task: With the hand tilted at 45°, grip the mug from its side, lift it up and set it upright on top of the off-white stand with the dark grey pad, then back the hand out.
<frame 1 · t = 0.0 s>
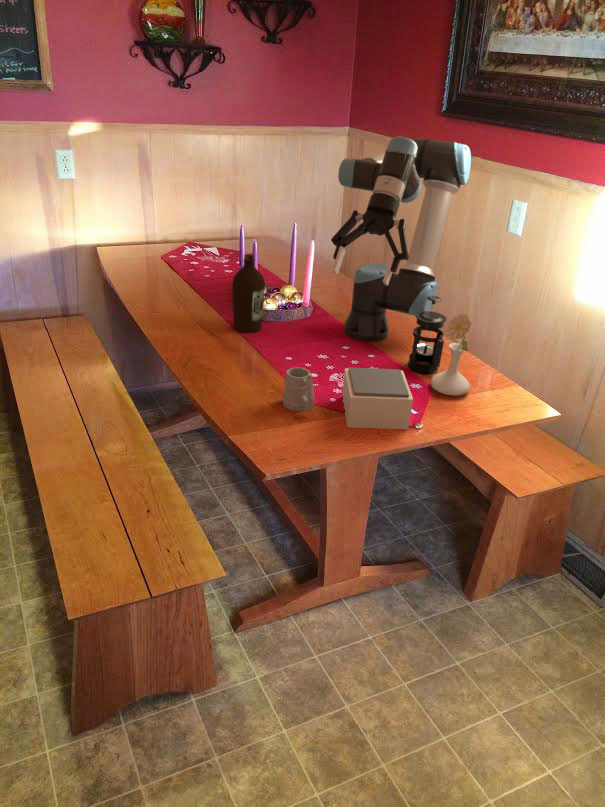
hand: (359, 278, 166), 36 cm above the table, tool tilted 35°, fingers open, 13 cm apart
french press: (423, 368, 206), on the table
stand: (373, 412, 180), on the table
olive oil: (247, 328, 224), on the table
flower in vase: (449, 391, 194), on the table
mug: (299, 408, 180), on the table
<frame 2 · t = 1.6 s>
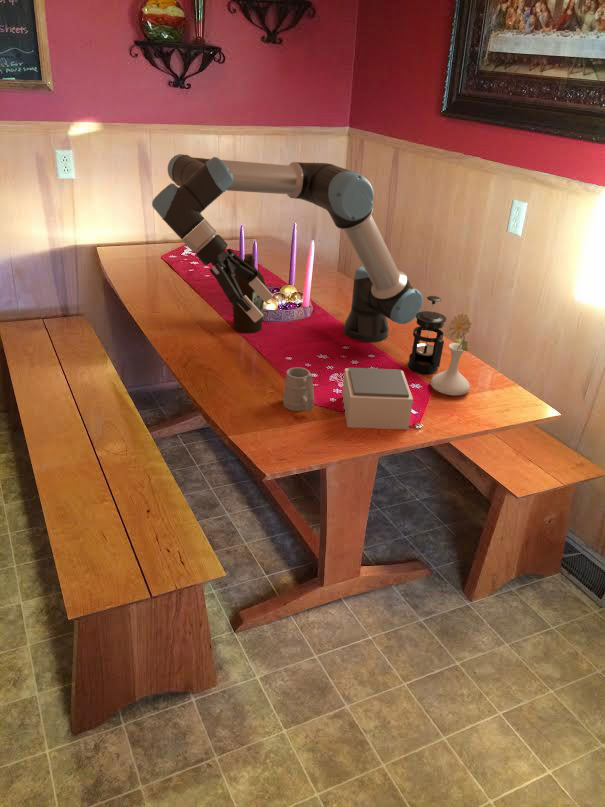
hand: (264, 308, 167), 27 cm above the table, tool tilted 45°, fingers open, 13 cm apart
nothing on the table moved.
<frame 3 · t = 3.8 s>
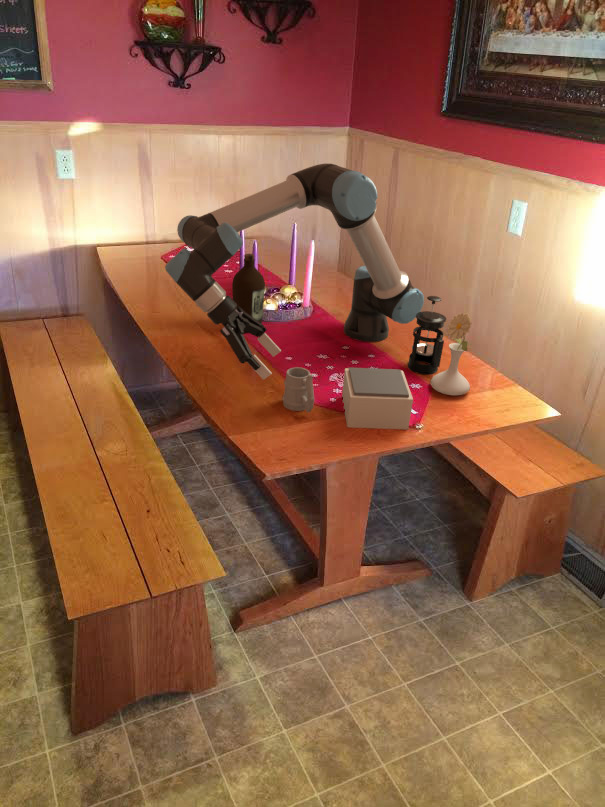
hand: (272, 364, 174), 12 cm above the table, tool tilted 45°, fingers open, 13 cm apart
nothing on the table moved.
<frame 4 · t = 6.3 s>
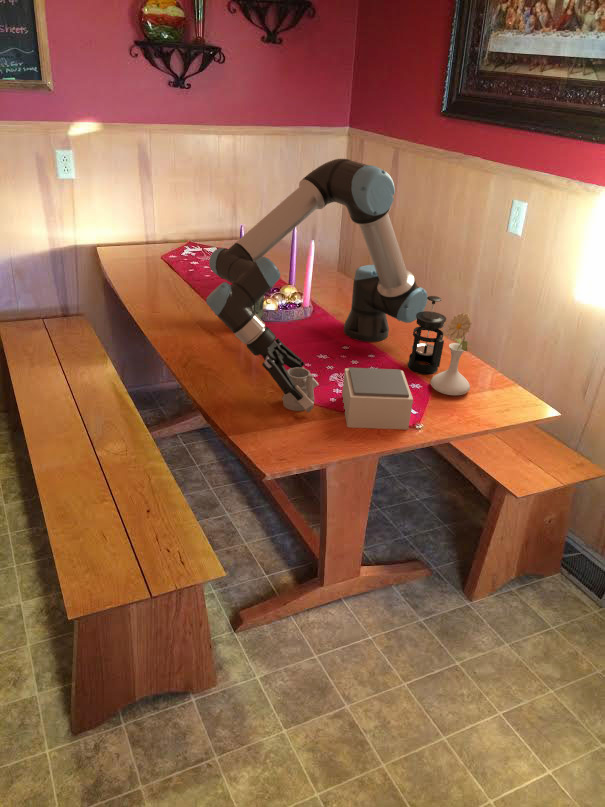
hand: (312, 396, 178), 4 cm above the table, tool tilted 45°, fingers closed on mug, 10 cm apart
mug: (299, 408, 180), on the table, touching gripper
everything else where it was.
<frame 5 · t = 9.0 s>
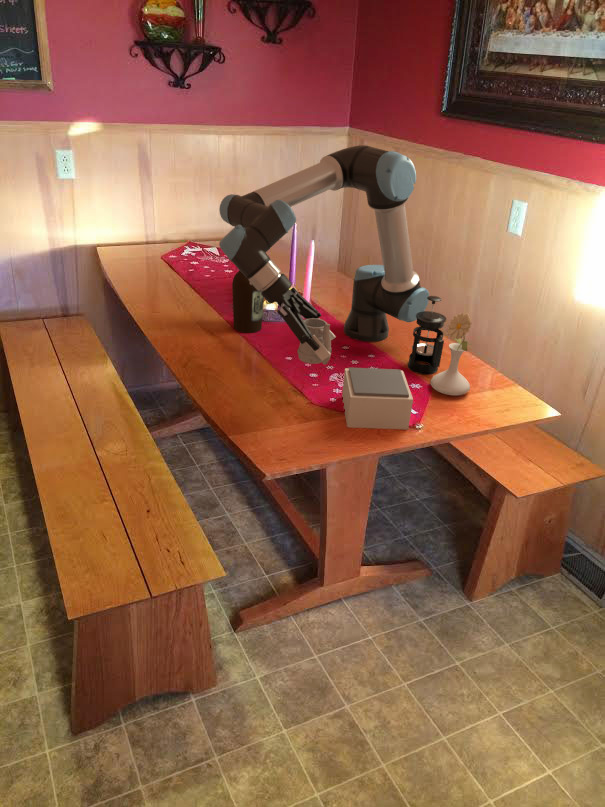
hand: (329, 348, 170), 19 cm above the table, tool tilted 45°, fingers closed on mug, 10 cm apart
mug: (315, 361, 172), point 15 cm above the table, touching gripper
everything else where it was.
when the fingers open (15 cm above the table, at t = 11.5 s): mug drops 1 cm, resting on stand.
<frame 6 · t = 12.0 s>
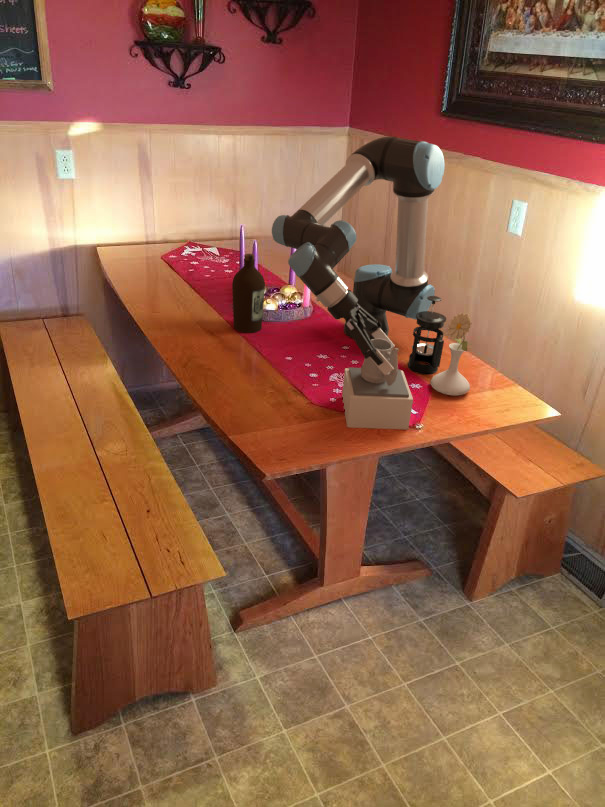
hand: (390, 360, 172), 16 cm above the table, tool tilted 45°, fingers open, 13 cm apart
mug: (378, 380, 175), point 10 cm above the table, touching stand
everything else where it was.
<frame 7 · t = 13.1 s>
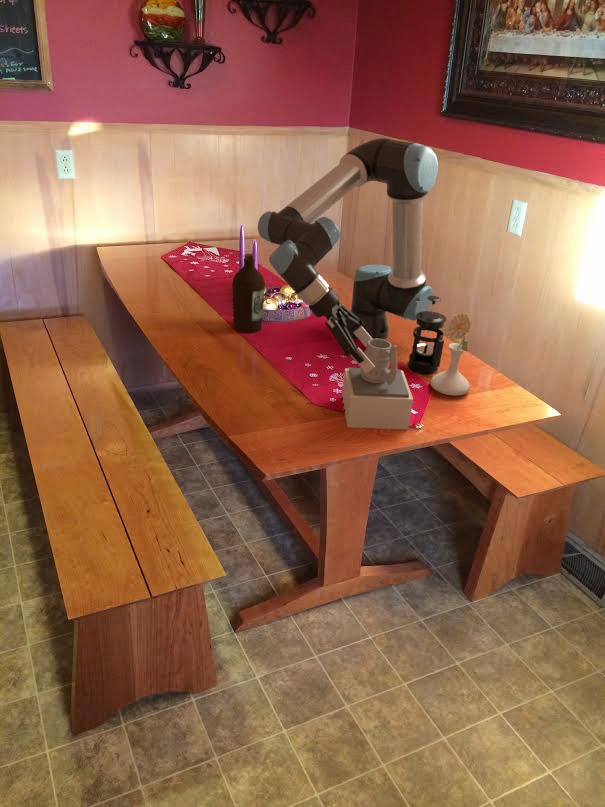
hand: (371, 358, 172), 16 cm above the table, tool tilted 45°, fingers open, 13 cm apart
nothing on the table moved.
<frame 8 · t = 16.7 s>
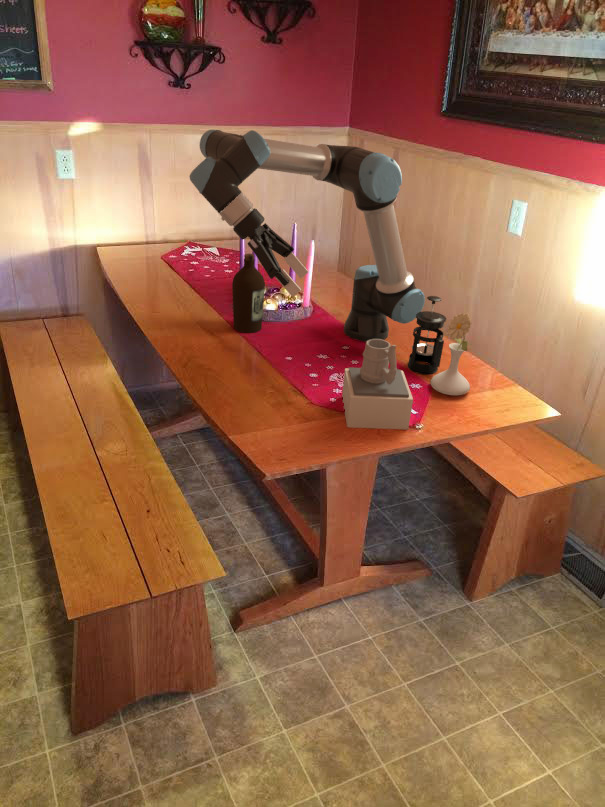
hand: (301, 284, 166), 34 cm above the table, tool tilted 45°, fingers open, 13 cm apart
nothing on the table moved.
at the end: mug inside the target area on the stand (0.1 cm from its centre), point 9.6 cm above the stand's base; mug tilted 0°; the gripper is holding nothing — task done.
